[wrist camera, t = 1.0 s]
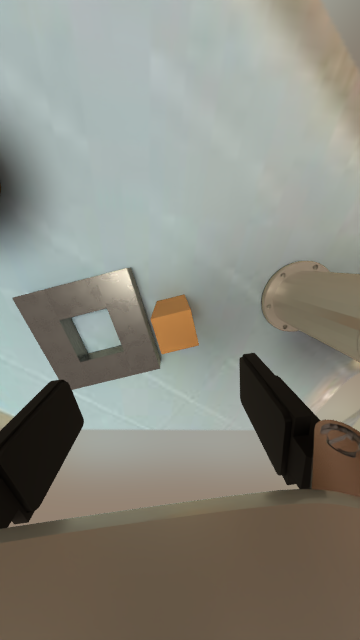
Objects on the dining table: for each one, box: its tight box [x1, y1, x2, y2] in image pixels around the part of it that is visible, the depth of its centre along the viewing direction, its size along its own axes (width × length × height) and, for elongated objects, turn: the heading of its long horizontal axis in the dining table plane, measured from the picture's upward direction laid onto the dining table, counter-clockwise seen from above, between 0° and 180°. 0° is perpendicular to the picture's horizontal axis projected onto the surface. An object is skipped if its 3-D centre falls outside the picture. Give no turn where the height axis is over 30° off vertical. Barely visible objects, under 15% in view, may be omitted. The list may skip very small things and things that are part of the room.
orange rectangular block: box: [151, 295, 199, 354], centre depth 26 cm, size 5×5×10 cm
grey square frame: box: [12, 268, 161, 390], centre depth 30 cm, size 18×18×3 cm
